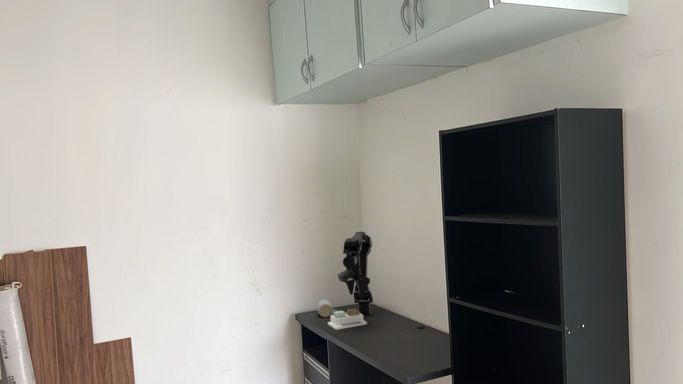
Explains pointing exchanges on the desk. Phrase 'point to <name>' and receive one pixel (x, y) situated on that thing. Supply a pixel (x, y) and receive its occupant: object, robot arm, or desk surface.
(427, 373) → the desk surface
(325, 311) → the ceramic mug
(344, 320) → the key panel
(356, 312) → the walnut key
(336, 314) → the sage key
